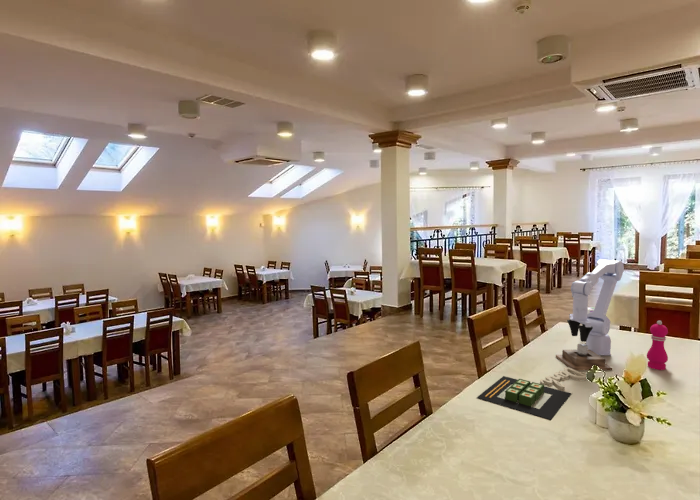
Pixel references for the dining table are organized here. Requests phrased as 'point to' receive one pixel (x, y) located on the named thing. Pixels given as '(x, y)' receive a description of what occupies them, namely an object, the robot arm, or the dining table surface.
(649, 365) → the pepper mill
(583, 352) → the peg
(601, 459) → the dining table surface
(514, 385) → the sushi
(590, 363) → the socket board
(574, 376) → the decorative sign
